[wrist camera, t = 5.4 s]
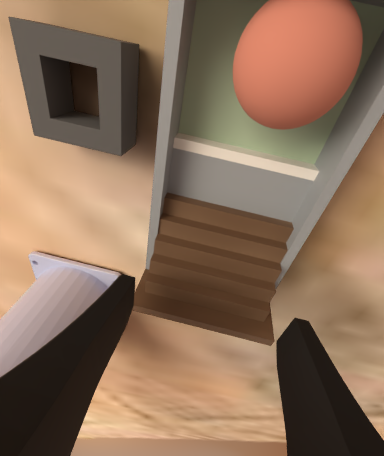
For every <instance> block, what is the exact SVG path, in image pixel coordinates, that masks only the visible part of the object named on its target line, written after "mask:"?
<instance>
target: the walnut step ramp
mask: <svg viewBox="0 0 384 456" xmlns="http://www.w3.org/2000/svg"><path fill="white" fill-rule="evenodd" d="M293 230H294V228H293V224H292V222H288V221H284V220H280V219H275V218H271V217H267V216H263V215H259V214H255V213H251V212H246V211H242V210H238V209H234V208H230V207H226V206H222V205H217V204H213V203H209V202H205V201H201V200H197V199H193V198H188V197H184V196H180V195H176V194H172V193H168V192H167V194H166V196H165V197H164V205H163V213H162V215H161V217H160V220H159V228H158V234H157V236H156V238H155V243H154V252H153V255H152V257H151V260H150V267H149V270H148V269H145V271H144V273H143V276H142V278H141V280H140V282H139V285H138V287H137V289H136V291H135V294H134V306H133V309H132V310H133V311H137V312H141V313H145V314H149V315H153V316H157V317H160V318H164V319H168V320H172V321H176V322H180V323H184V324H188V325H192V326H196V327H200V328H203V329H207V330H211V331H215V332H219V333H223V334H227V335H231V336H235V337H239V338H243V339H246V340H250V341H254V342H258V343H262V344H266V345H270V346H271V345H272V344H273V342H274V334H273V326H272V318H271V310H270V301H271V299H272V297H273V296H274V294H275V293H276V289H275V282H276V280H277V279H278V277H279V275H280V273H281V272H282V269H281V264H280V263H281V261H282V260H283V258H284V256H285V254H286V253H287V251H288V249H287V245H286V242H287V240H288V239H289V237H290V235H291V233H292V231H293Z"/></svg>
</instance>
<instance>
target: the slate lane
mask: <svg viewBox="0 0 384 456" xmlns="http://www.w3.org/2000/svg"><path fill="white" fill-rule="evenodd" d="M267 1H269V0H169V5H168V17H167V28H166V40H165V51H164V63H163V74H162V86H161V97H160V109H159V120H158V132H157V143H156V155H155V166H154V178H153V189H152V201H151V212H150V224H149V235H148V247H147V258H146V269H148V270H149V267H150V260H151V257H152V255H153V252H154V243H155V238H156V236H157V234H158V228H159V220H160V217H161V215H162V213H163V205H164V197H165V196H166V194H167V192H168V193H172V194H176V195H180V196H184V197H188V198H193V199H197V200H201V201H205V202H209V203H213V204H217V205H222V206H226V207H230V208H234V209H238V210H242V211H246V212H251V213H255V214H259V215H263V216H267V217H271V218H275V219H280V220H284V221H288V222H292V224H293V228H294V230H293V231H292V233H291V235H290V237H289V239H288V240H287V242H286V245H287V249H288V251H287V253H286V254H285V256H284V258H283V260H282V261H281V263H280V264H281V269H282V272H281V273H280V275H279V277H278V279H277V280H276V282H275V289H276V288H277V286H278V285H279V283H280V282H281V280H282V278H283V277H284V275H285V273H286V272H287V270H288V268H289V267H290V265H291V264H292V262H293V260H294V259H295V257H296V255H297V254H298V252H299V250H300V249H301V247H302V246H303V244H304V242H305V241H306V239H307V237H308V236H309V234H310V232H311V231H312V229H313V228H314V226H315V224H316V223H317V221H318V219H319V218H320V216H321V214H322V213H323V211H324V210H325V208H326V206H327V205H328V203H329V201H330V200H331V198H332V196H333V195H334V193H335V192H336V190H337V188H338V187H339V185H340V183H341V182H342V180H343V178H344V177H345V175H346V174H347V172H348V170H349V169H350V167H351V165H352V164H353V162H354V161H355V159H356V157H357V156H358V154H359V152H360V151H361V149H362V147H363V146H364V144H365V143H366V141H367V139H368V138H369V136H370V134H371V133H372V131H373V129H374V128H375V126H376V125H377V123H378V121H379V120H380V118H381V116H382V115H383V113H384V0H350V2H351V3H352V5H353V6H354V8H355V9H356V11H357V14H358V16H359V19H360V22H361V27H362V36H363V44H362V54H361V58H360V63H359V66H358V69H357V72H356V74H355V76H354V78H353V80H352V83H351V84H350V86H349V88H348V89H347V91H346V92H345V94H344V95H343V96H342V98H341V99H340V100H339V101H338V103H337V104H336V105H335V106H334V107H333V108H332V109H330V110H329V111H328V112H327V113H326V114H324V115H323V116H321V117H320V118H318V119H317V120H315V121H313V122H311V123H309V124H307V125H304V126H301V127H298V128H293V129H285V130H282V129H272V128H269V127H265V126H263V125H261V124H259V123H257V122H256V121H254V120H253V119H252V118H251V117H249V116H248V115H247V113H246V112H245V111H244V110H243V108H242V107H241V105H240V103H239V101H238V99H237V96H236V93H235V90H234V84H233V61H234V56H235V52H236V48H237V45H238V42H239V40H240V37H241V35H242V33H243V31H244V29H245V28H246V26H247V24H248V23H249V21H250V20H251V18H252V17H253V16H254V14H255V13H256V12H257V11H258V10H259V9H260V8H261V7H262V6H263V5H264V4H265V3H266V2H267Z"/></svg>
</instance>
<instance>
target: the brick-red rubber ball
mask: <svg viewBox="0 0 384 456" xmlns="http://www.w3.org/2000/svg"><path fill="white" fill-rule="evenodd" d="M362 44H363V36H362V27H361V22H360V19H359V16H358V14H357V11H356V9H355V8H354V6H353V5H352V3H351V2H350V0H269V1H267V2H266V3H265V4H264V5H263V6H262V7H261V8H260V9H259V10H258V11H257V12H256V13H255V14H254V16H253V17H252V18H251V20H250V21H249V23H248V24H247V26H246V28H245V29H244V31H243V33H242V35H241V37H240V40H239V42H238V45H237V48H236V52H235V56H234V61H233V84H234V90H235V93H236V96H237V99H238V101H239V103H240V105H241V107H242V108H243V110H244V111H245V112H246V113H247V115H248V116H249V117H251V118H252V119H253V120H254V121H256V122H257V123H259V124H261V125H263V126H265V127H269V128H272V129H282V130H285V129H293V128H298V127H301V126H304V125H307V124H309V123H311V122H313V121H315V120H317V119H318V118H320V117H321V116H323V115H324V114H326V113H327V112H328V111H329V110H330V109H332V108H333V107H334V106H335V105H336V104H337V103H338V101H339V100H340V99H341V98H342V96H343V95H344V94H345V92H346V91H347V89H348V88H349V86H350V84H351V83H352V80H353V78H354V76H355V74H356V72H357V69H358V66H359V63H360V58H361V54H362Z"/></svg>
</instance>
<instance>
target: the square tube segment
mask: <svg viewBox="0 0 384 456" xmlns="http://www.w3.org/2000/svg"><path fill="white" fill-rule="evenodd" d="M9 22H10V26H11V31H12V35H13V40H14V45H15V49H16V54H17V59H18V63H19V68H20V72H21V77H22V82H23V86H24V91H25V95H26V100H27V105H28V109H29V114H30V119H31V123H32V128H33V132H34V135H35V136H39V137H43V138H47V139H51V140H56V141H60V142H64V143H68V144H72V145H77V146H81V147H85V148H89V149H93V150H98V151H102V152H106V153H110V154H114V155H119V156H122V155H123V154H124V153H126V152H127V151H128V150H129V149H131V148H132V147H133V146H134V145H135V144H136V125H137V96H138V67H139V44H135V43H130V42H126V41H121V40H117V39H113V38H108V37H104V36H99V35H95V34H90V33H86V32H81V31H77V30H73V29H68V28H64V27H59V26H55V25H50V24H46V23H41V22H35V21H30V20H25V19H19V18H14V17H9ZM69 62H73V63H78V64H82V65H86V66H91V67H95V68H97V81H98V100H99V116H95V115H91V114H87V113H82V112H78V111H74V103H73V93H72V84H71V75H70V66H69Z"/></svg>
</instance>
